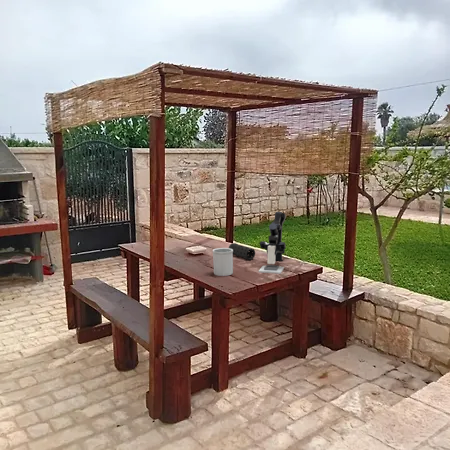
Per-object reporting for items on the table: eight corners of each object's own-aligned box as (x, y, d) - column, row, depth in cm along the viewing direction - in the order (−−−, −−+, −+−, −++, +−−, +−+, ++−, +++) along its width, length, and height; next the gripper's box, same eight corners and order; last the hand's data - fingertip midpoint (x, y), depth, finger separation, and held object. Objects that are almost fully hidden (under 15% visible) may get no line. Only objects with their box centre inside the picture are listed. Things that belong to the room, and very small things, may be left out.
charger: (268, 262, 322) (269, 244, 320) (275, 262, 321) (275, 245, 318) (267, 263, 317) (267, 246, 315) (274, 264, 316) (274, 246, 314)
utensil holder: (215, 277, 303) (215, 252, 300) (210, 271, 317) (210, 248, 314) (235, 275, 307) (235, 251, 304) (229, 270, 321) (229, 247, 318)
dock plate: (263, 267, 329) (263, 263, 329) (283, 268, 325) (283, 264, 325) (258, 272, 314) (258, 268, 314) (280, 273, 310) (280, 270, 309)
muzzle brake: (246, 261, 349) (246, 248, 347) (227, 255, 372) (227, 243, 371) (255, 259, 354) (255, 247, 353) (236, 253, 377) (236, 242, 376)
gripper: (260, 230, 322) (257, 248, 313) (285, 231, 316) (282, 249, 308) (262, 239, 330) (259, 256, 322) (286, 240, 325) (284, 257, 316)
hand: (271, 254), depth 317 cm, fingers closed on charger, 5 cm apart
